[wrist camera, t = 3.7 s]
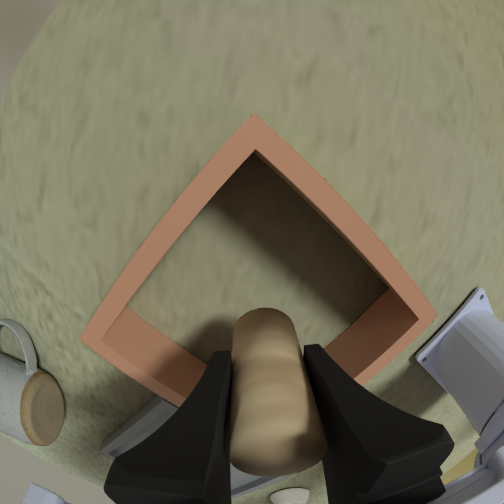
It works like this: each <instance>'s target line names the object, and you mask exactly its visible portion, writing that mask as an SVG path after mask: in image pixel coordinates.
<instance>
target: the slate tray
mask: <svg viewBox="0 0 504 504" xmlns="http://www.w3.org/2000/svg"><path fill="white" fill-rule="evenodd" d="M178 408H179V407H178V406H176V405H175V404H173V403H171V402H169V401H168V400H166V399H164V398H163V397H161V396H159V395H157V396H156V397H154V398H153V399H152V400H151V401H150V402H149V403H148V404H146V405H145V406H144V407H143V408H142V409H141V410H139V411H138V412H137V413H136V414H135V415H134V416H132V417H131V418H130V419H129V420H128V421H127V422H125V423H124V424H123V425H122V426H121V427H120V428H118V429H117V430H116V431H115V432H114V433H112V434H111V435H110V436H109V437H108V438H106V439H105V440H104V441H103V442H102V444H101V447H100V450H99V452H100V453H102V454H104V455H105V456H107V457H109V458H111V459H113V460H114V459H115V457H117V456H119V455H121V454H123V453H124V452H126V451H128V450H129V449H131V448H133V447H134V446H136V445H137V444H139V443H140V442H142V441H143V440H144V439H146V438H147V437H148V436H150V435H151V434H152V433H153V432H155V431H156V430H157V429H158V428H159V427H161V426H162V425H163V424H164V423H165V422H166V421H167V420H168V419H169V418H170V417H171V416H172V415H173V414H174V413H175V412H176V411H177V409H178ZM230 472H231V499H233V498H236V497H239V496H242V495H245V494H247V493H250V492H253V491H255V490H258V489H260V488H263V487H265V486H267V485H270V484H272V483H274V482H277V481H279V480H281V479H283V478H286V477H288V476H290V475H292V474H290V475H285V476H277V477H263V476H255V475H250V474H247V473H244V472H242V471H240V470H238V469H236V468H235V467H234V466H233V465H232V464H231V462H230Z"/></svg>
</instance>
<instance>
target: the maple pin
mask: <svg viewBox="0 0 504 504" xmlns="http://www.w3.org/2000/svg"><path fill="white" fill-rule="evenodd" d="M327 451H328V445H327V441H326V438H325V434H324V430H323V427H322V423H321V419H320V416H319V412H318V408H317V405H316V401H315V398H314V394H313V390H312V387H311V383H310V380H309V376H308V373H307V369H306V366H305V362H304V359H303V355H302V352H301V348H300V345H299V342H298V338H297V335H296V331H295V328H294V325H293V322H292V321H291V319H290V318H289V317H288V316H287V315H286V314H285V313H283V312H281V311H279V310H277V309H273V308H258V309H254V310H251V311H249V312H247V313H246V314H244V315H243V316H242V317H240V319H239V320H238V321H237V322H236V324H235V326H234V330H233V348H232V382H231V412H230V456H229V457H230V462H231V464H232V465H233V466H234V467H235V468H236V469H238V470H240V471H242V472H244V473H247V474H250V475H255V476H263V477H277V476H285V475H290V474H295V473H298V472H301V471H304V470H306V469H308V468H310V467H312V466H314V465H316V464H317V463H318V462H320V461H321V460H322V459H323V458H324V457H325V455H326V453H327Z"/></svg>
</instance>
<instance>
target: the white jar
mask: <svg viewBox="0 0 504 504" xmlns="http://www.w3.org/2000/svg"><path fill="white" fill-rule="evenodd" d="M309 495H310V494H309V490H307V489H303V488H289V489H284V490H280V491H277V492H275V493H274V494H272V495H271V496H270V500H271V501H272V503H273V504H306V503H307V500H308V498H309Z"/></svg>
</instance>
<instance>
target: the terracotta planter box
mask: <svg viewBox="0 0 504 504" xmlns="http://www.w3.org/2000/svg"><path fill="white" fill-rule="evenodd" d="M252 152H253V153H254V154H255V155H257V156H258V157H259V158H260V159H261V160H262V161H263V162H264V163H266V164H267V165H268V166H269V167H270V168H271V169H272V170H273V171H274V172H275V173H277V174H278V175H279V176H280V177H281V178H282V179H283V180H284V181H285V182H286V183H287V184H288V185H289V186H290V187H292V188H293V189H294V190H295V191H296V192H297V193H298V194H299V195H300V196H301V197H302V198H303V199H304V200H305V201H306V202H307V203H308V204H309V205H310V206H311V207H312V208H313V209H314V210H315V211H316V212H317V213H318V214H319V215H320V216H321V217H322V218H323V219H324V220H325V221H326V222H327V223H328V224H329V225H330V226H331V227H332V228H333V229H334V230H335V231H336V232H337V233H338V234H339V235H340V236H341V237H342V238H343V239H344V240H345V241H346V242H347V243H348V244H349V245H350V246H351V247H352V248H353V249H354V250H355V252H356V253H357V254H358V255H359V256H360V257H361V258H362V259H363V260H364V261H365V262H366V263H367V264H368V266H369V267H370V268H371V269H372V270H373V271H374V272H375V273H376V274H377V275H378V277H379V278H380V279H381V280H382V281H383V282H384V283H385V284H386V286H387V287H388V288H389V289H388V290H387V291H386V292H385V293H384V294H383V295H382V296H381V297H380V298H379V299H378V300H377V301H376V302H375V303H374V304H373V305H372V306H371V307H370V308H369V309H368V310H367V311H366V312H365V313H364V314H363V315H362V316H360V317H359V318H358V319H357V320H356V321H355V322H354V323H353V324H352V325H351V326H350V327H349V328H348V329H346V330H345V331H344V332H343V333H342V334H341V335H340V336H339V337H338V338H336V339H335V340H334V341H333V342H332V343H331V344H330V345H328V346H327V347H326V348H325V349H324V350H325V351H326V352H327V353H328V355H329V356H330V357H331V358H332V359H333V360H334V361H335V362H336V363H337V364H338V365H339V366H340V367H341V368H342V369H343V370H344V371H345V372H346V373H347V374H348V375H349V376H351V377H352V378H353V379H354V380H355V381H356V382H358V383H359V384H360V385H361V386H362V385H363V384H365V383H366V382H367V381H368V380H370V379H371V378H372V377H373V376H374V375H376V374H377V373H378V372H379V371H380V370H381V369H383V368H384V367H385V366H386V365H387V364H388V363H390V362H391V361H392V360H393V359H394V358H395V357H396V356H397V355H398V354H400V353H401V352H402V351H403V350H404V349H405V348H406V347H407V346H408V345H409V344H410V343H411V342H412V341H413V340H414V339H415V338H416V337H417V336H418V335H419V334H420V333H421V332H422V331H423V330H424V329H425V328H426V327H427V326H428V325H429V324H430V323H431V322H432V321H433V320H434V319H435V318H436V317H437V316H438V314H437V313H436V311H435V310H434V309H433V307H432V306H431V304H430V303H429V302H428V300H427V299H426V297H425V296H424V295H423V293H422V292H421V291H420V289H419V288H418V287H417V285H416V284H415V283H414V281H413V280H412V279H411V277H410V276H409V275H408V274H407V272H406V271H405V270H404V268H403V267H402V266H401V265H400V263H399V262H398V261H397V260H396V258H395V257H394V256H393V255H392V254H391V252H390V251H389V250H388V249H387V247H386V246H385V245H384V244H383V243H382V242H381V240H380V239H379V238H378V237H377V236H376V234H375V233H374V232H373V231H372V230H371V229H370V228H369V226H368V225H367V224H366V223H365V222H364V221H363V220H362V218H361V217H360V216H359V215H358V214H357V213H356V212H355V211H354V210H353V209H352V207H351V206H350V205H349V204H348V203H347V202H346V201H345V200H344V199H343V198H342V197H341V196H340V195H339V194H338V192H337V191H336V190H335V189H334V188H333V187H332V186H331V185H330V184H329V183H328V182H327V181H326V180H325V179H324V178H323V177H322V176H321V175H320V174H319V173H318V172H317V171H316V170H315V169H314V168H313V167H312V166H311V165H310V164H309V163H308V162H307V161H306V160H305V159H304V158H303V157H302V156H301V155H300V154H299V153H298V152H296V151H295V150H294V149H293V148H292V147H291V146H290V145H289V144H288V143H287V142H286V141H285V140H284V139H282V138H281V137H280V136H279V135H278V134H277V133H276V132H275V131H274V130H273V129H271V128H270V127H269V126H268V125H267V124H266V123H265V122H263V121H262V120H261V119H260V118H259V117H258V116H257V115H255V114H254V113H253V114H252V115H251V117H250V118H249V119H248V120H247V121H246V122H245V123H244V124H243V125H242V126H241V127H240V128H239V129H238V130H237V131H236V132H235V133H234V134H233V135H232V137H231V138H230V139H229V140H228V141H227V142H226V143H225V144H224V145H223V146H222V147H221V149H220V150H219V151H218V152H217V153H216V154H215V155H214V156H213V158H212V159H211V160H210V161H209V162H208V163H207V164H206V166H205V167H204V168H203V169H202V170H201V171H200V172H199V174H198V175H197V176H196V177H195V178H194V180H193V181H192V182H191V183H190V184H189V185H188V187H187V188H186V189H185V190H184V192H183V193H182V194H181V195H180V196H179V198H178V199H177V200H176V201H175V203H174V204H173V205H172V206H171V208H170V209H169V210H168V211H167V213H166V214H165V215H164V216H163V218H162V219H161V220H160V222H159V223H158V224H157V226H156V227H155V228H154V229H153V231H152V232H151V233H150V235H149V236H148V237H147V239H146V240H145V241H144V243H143V244H142V246H141V247H140V248H139V250H138V251H137V252H136V254H135V255H134V257H133V258H132V259H131V261H130V262H129V264H128V265H127V266H126V268H125V269H124V271H123V272H122V274H121V275H120V276H119V278H118V279H117V281H116V282H115V284H114V285H113V287H112V288H111V290H110V291H109V293H108V294H107V296H106V297H105V299H104V300H103V302H102V303H101V305H100V307H99V308H98V310H97V311H96V313H95V314H94V316H93V318H92V319H91V321H90V322H89V324H88V326H87V327H86V329H85V331H84V332H83V334H82V336H81V337H80V340H81V341H82V342H84V343H85V344H86V345H87V346H89V347H90V348H91V349H92V350H94V351H95V352H96V353H98V354H99V355H100V356H102V357H103V358H104V359H106V360H107V361H108V362H110V363H111V364H112V365H114V366H115V367H117V368H118V369H119V370H121V371H122V372H124V373H125V374H127V375H128V376H130V377H131V378H133V379H134V380H136V381H137V382H139V383H140V384H142V385H143V386H145V387H146V388H148V389H150V390H151V391H153V392H154V393H156V394H158V395H159V396H161V397H163V398H164V399H166V400H168V401H169V402H171V403H173V404H175V405H176V406H178V407H180V406H181V405H182V404H183V402H184V401H185V400H186V399H187V397H188V396H189V394H190V393H191V392H192V390H193V389H194V388H195V386H196V385H197V383H198V381H199V380H200V378H201V377H202V375H203V373H204V371H205V370H206V368H207V366H208V364H206V363H204V362H203V361H201V360H200V359H198V358H197V357H195V356H194V355H192V354H191V353H189V352H188V351H186V350H185V349H183V348H182V347H180V346H179V345H178V344H176V343H175V342H173V341H172V340H170V339H169V338H168V337H166V336H165V335H163V334H162V333H161V332H159V331H158V330H156V329H155V328H154V327H152V326H151V325H150V324H148V323H147V322H146V321H144V320H143V319H142V318H140V317H139V316H138V315H137V314H135V313H134V312H133V311H131V310H130V309H129V308H128V307H126V306H125V305H126V304H127V302H128V301H129V300H130V298H131V297H132V296H133V294H134V293H135V292H136V290H137V289H138V288H139V286H140V285H141V284H142V282H143V281H144V280H145V278H146V277H147V276H148V275H149V273H150V272H151V271H152V269H153V268H154V267H155V266H156V264H157V263H158V262H159V260H160V259H161V258H162V257H163V255H164V254H165V253H166V252H167V250H168V249H169V248H170V247H171V245H172V244H173V243H174V242H175V240H176V239H177V238H178V237H179V236H180V234H181V233H182V232H183V231H184V229H185V228H186V227H187V226H188V225H189V223H190V222H191V221H192V220H193V219H194V218H195V216H196V215H197V214H198V213H199V212H200V210H201V209H202V208H203V207H204V206H205V205H206V203H207V202H208V201H209V200H210V199H211V198H212V196H213V195H214V194H215V193H216V192H217V191H218V190H219V188H220V187H221V186H222V185H223V184H224V183H225V182H226V181H227V179H228V178H229V177H230V176H231V175H232V174H233V173H234V172H235V171H236V169H237V168H238V167H239V166H240V165H241V164H242V163H243V162H244V161H245V160H246V159H247V157H248V156H249V155H250V154H251V153H252Z"/></svg>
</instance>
